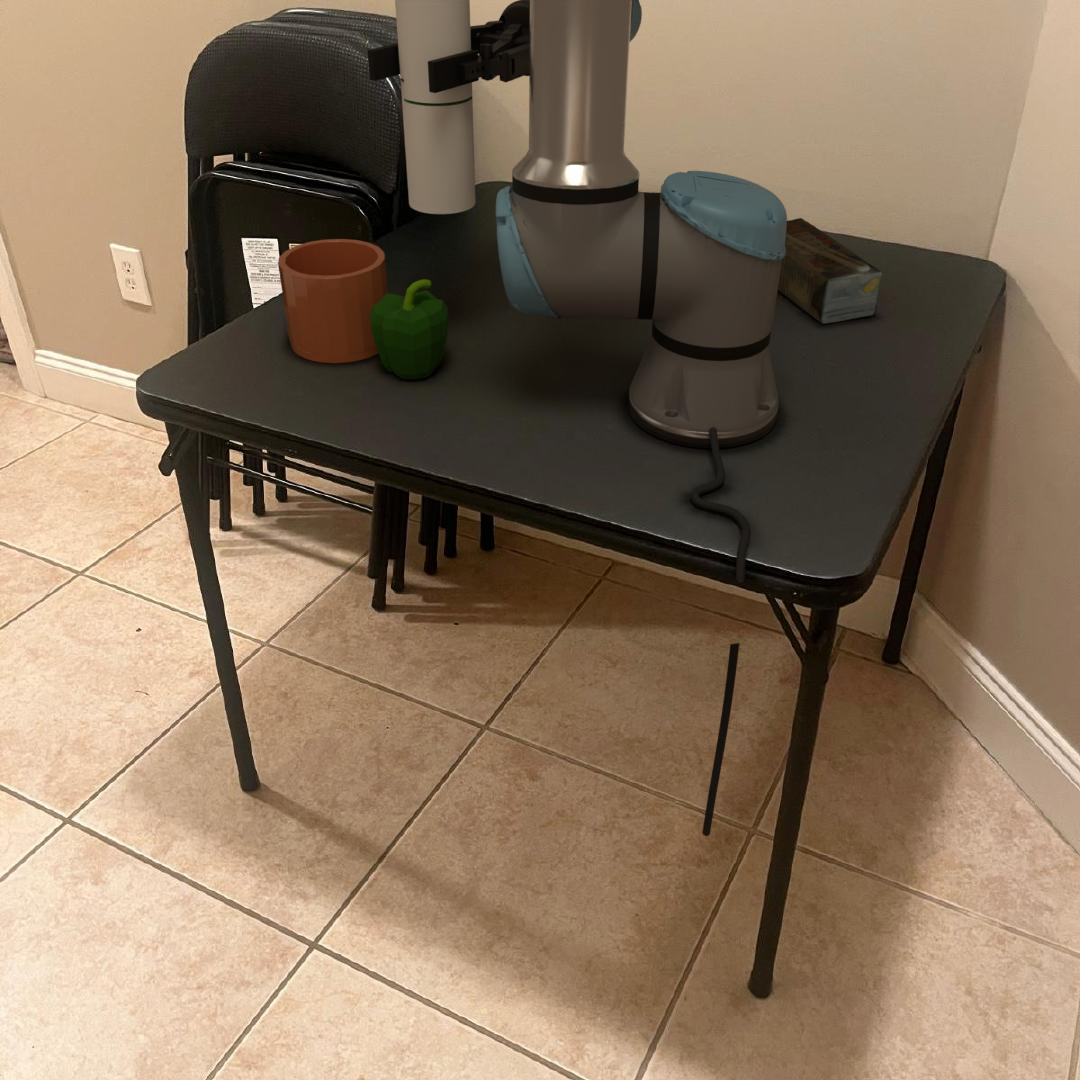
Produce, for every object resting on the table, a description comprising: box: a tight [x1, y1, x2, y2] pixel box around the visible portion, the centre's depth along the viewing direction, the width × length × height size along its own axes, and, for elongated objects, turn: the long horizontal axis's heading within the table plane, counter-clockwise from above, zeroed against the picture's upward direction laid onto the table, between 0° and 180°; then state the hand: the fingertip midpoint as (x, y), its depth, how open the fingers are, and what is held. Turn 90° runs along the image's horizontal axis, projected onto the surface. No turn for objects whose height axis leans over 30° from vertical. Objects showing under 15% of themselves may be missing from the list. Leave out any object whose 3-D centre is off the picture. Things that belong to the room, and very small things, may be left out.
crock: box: [277, 238, 389, 364], centre depth 116 cm, size 12×12×10 cm
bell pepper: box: [370, 278, 449, 380], centre depth 110 cm, size 8×8×10 cm
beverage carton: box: [778, 217, 883, 325], centre depth 129 cm, size 8×19×7 cm, turn 19°
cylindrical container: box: [394, 0, 477, 215], centre depth 103 cm, size 7×7×25 cm
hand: (401, 71), depth 99 cm, fingers closed on cylindrical container, 7 cm apart
